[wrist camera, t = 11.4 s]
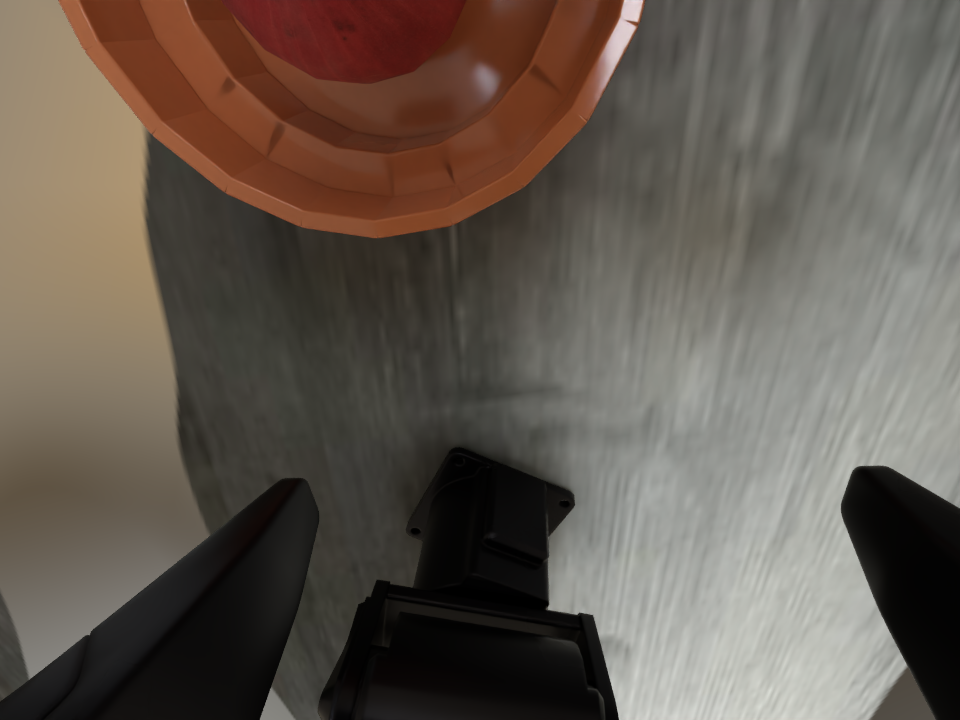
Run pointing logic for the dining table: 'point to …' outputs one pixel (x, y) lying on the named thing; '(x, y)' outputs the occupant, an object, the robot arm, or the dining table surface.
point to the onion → (350, 34)
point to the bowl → (363, 107)
